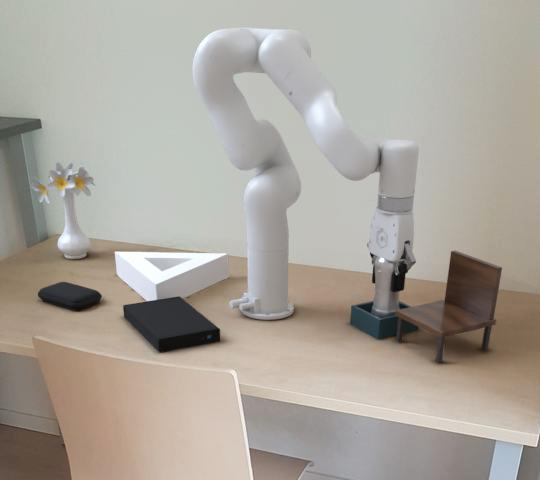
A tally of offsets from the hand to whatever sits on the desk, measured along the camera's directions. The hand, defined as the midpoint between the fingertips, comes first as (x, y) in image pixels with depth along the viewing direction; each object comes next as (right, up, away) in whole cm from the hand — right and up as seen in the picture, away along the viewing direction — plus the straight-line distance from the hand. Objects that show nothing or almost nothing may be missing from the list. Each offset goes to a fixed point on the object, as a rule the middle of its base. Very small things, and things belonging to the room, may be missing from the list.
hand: (387, 285), depth 175 cm
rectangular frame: (0, -8, +5) cm, 10 cm away
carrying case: (-75, +1, +18) cm, 77 cm away
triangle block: (-56, +8, +30) cm, 64 cm away
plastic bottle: (0, -8, +5) cm, 10 cm away
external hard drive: (-49, -9, +3) cm, 50 cm away
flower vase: (-82, +20, +49) cm, 98 cm away
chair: (+11, -14, -4) cm, 18 cm away
